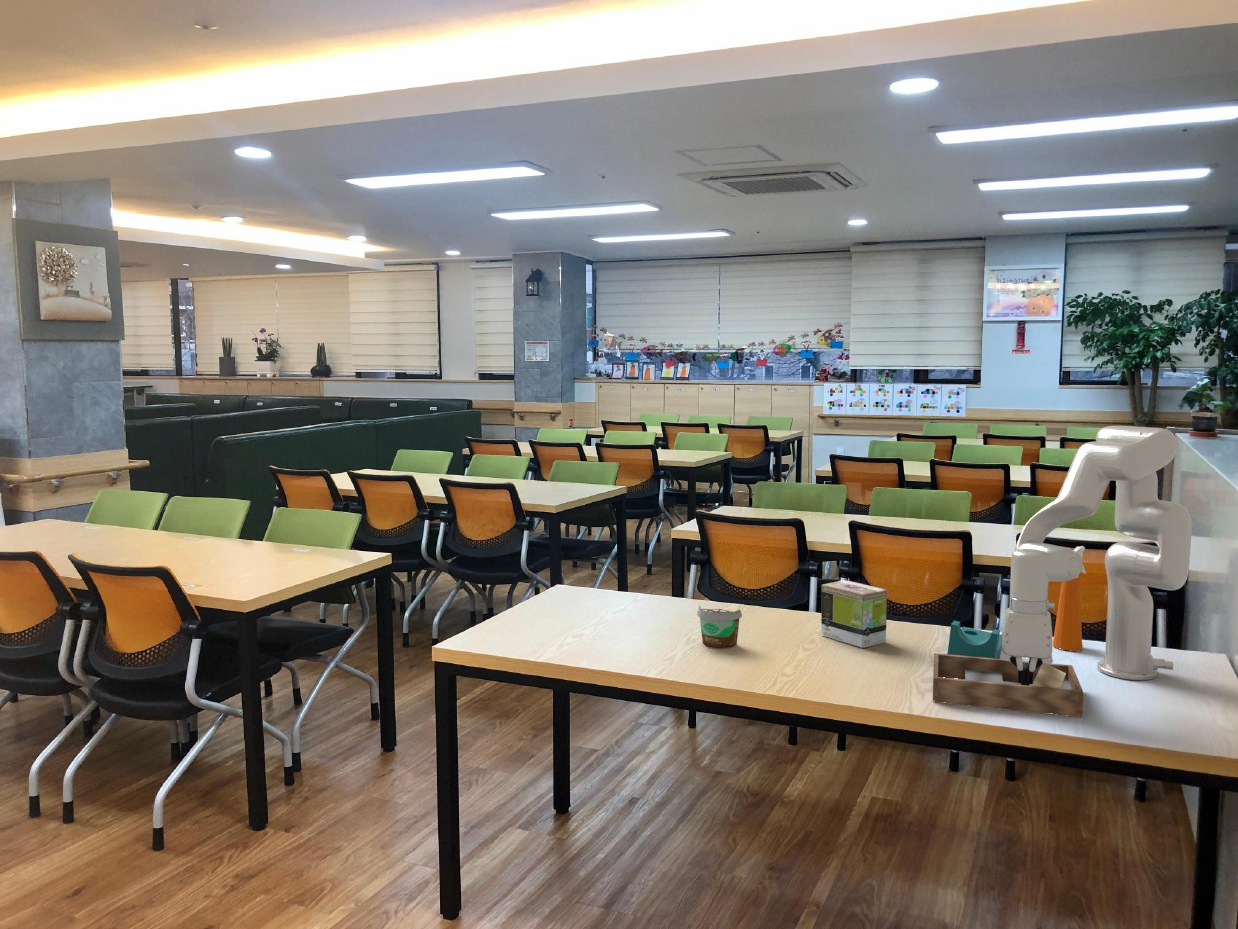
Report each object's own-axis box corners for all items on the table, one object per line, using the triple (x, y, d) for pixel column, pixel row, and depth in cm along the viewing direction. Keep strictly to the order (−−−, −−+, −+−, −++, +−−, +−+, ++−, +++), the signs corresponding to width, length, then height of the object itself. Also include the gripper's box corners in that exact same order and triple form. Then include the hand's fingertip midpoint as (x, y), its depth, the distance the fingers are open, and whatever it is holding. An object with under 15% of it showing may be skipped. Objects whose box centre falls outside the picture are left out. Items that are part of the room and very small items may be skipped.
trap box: (1071, 688, 210) (1072, 665, 210) (1082, 717, 194) (1083, 692, 193) (933, 675, 220) (934, 653, 220) (932, 702, 204) (933, 678, 203)
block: (1056, 692, 201) (1066, 673, 200) (1053, 700, 197) (1063, 680, 195) (1033, 681, 203) (1042, 662, 202) (1030, 688, 199) (1039, 669, 198)
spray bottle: (1095, 645, 241) (1099, 547, 238) (1073, 653, 235) (1077, 552, 232) (1069, 639, 247) (1073, 543, 244) (1047, 646, 241) (1051, 548, 238)
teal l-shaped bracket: (992, 675, 222) (997, 634, 220) (946, 664, 227) (951, 624, 225) (1004, 654, 237) (1009, 616, 235) (960, 644, 242) (965, 606, 241)
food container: (691, 647, 245) (691, 610, 244) (698, 640, 250) (697, 605, 249) (736, 652, 240) (736, 615, 239) (742, 645, 246) (742, 609, 245)
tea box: (887, 642, 246) (888, 588, 245) (862, 649, 241) (863, 594, 239) (844, 629, 259) (845, 578, 257) (819, 635, 253) (820, 583, 252)
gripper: (1063, 604, 201) (1060, 684, 203) (990, 598, 206) (987, 677, 208) (1068, 613, 194) (1064, 696, 196) (992, 607, 199) (989, 688, 201)
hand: (1024, 686), depth 202 cm, fingers closed
